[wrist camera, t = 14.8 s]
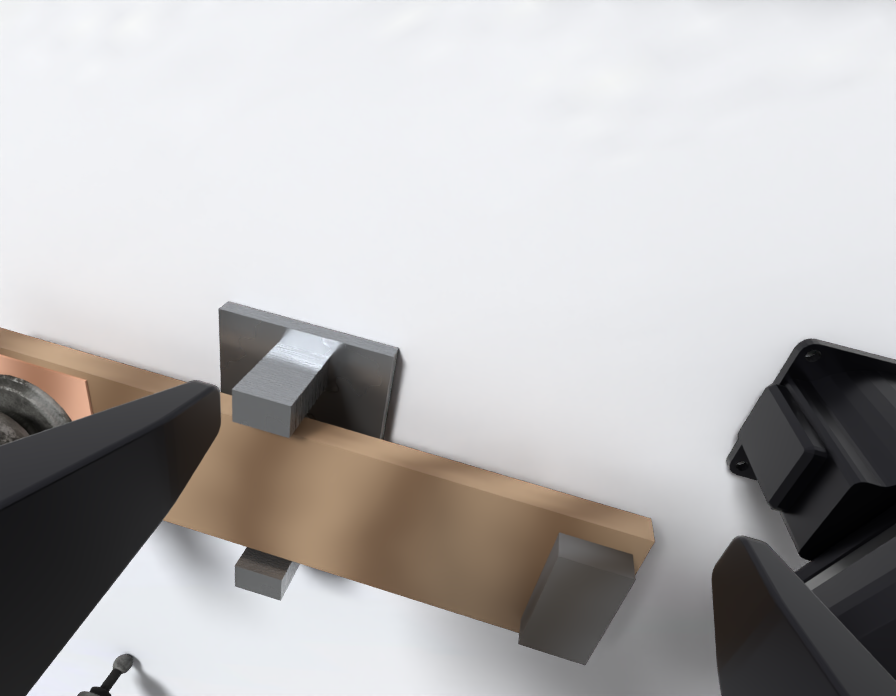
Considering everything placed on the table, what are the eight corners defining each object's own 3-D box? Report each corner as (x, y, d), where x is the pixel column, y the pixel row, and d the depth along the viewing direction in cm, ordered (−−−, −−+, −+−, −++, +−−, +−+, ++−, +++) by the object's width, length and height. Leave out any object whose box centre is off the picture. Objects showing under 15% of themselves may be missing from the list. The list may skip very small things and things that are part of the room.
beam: (651, 518, 22) (659, 566, 20) (587, 631, 26) (588, 680, 24) (-46, 314, 24) (-103, 337, 22) (-5, 445, 29) (-50, 476, 26)
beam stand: (398, 348, 24) (364, 407, 20) (363, 553, 31) (332, 628, 27) (228, 301, 24) (162, 350, 20) (232, 514, 31) (184, 580, 27)
